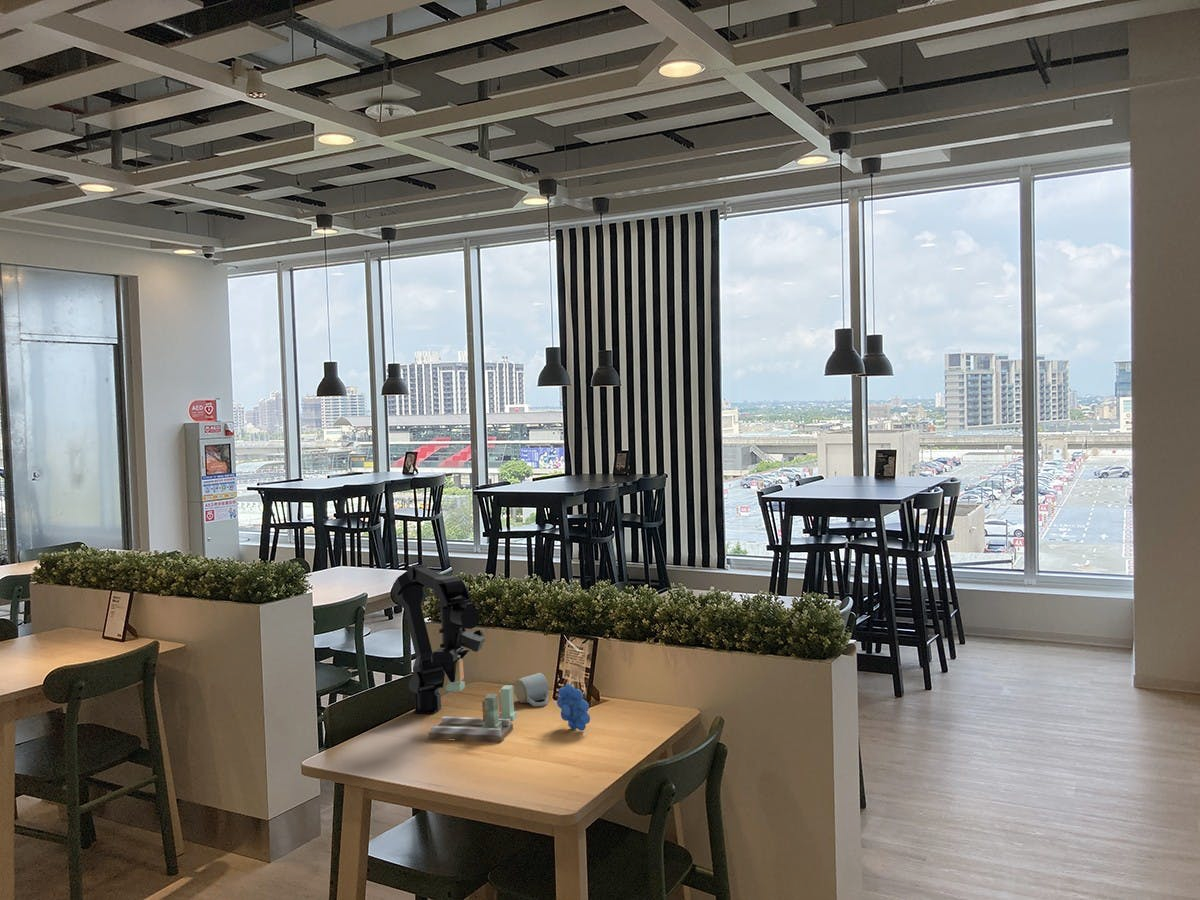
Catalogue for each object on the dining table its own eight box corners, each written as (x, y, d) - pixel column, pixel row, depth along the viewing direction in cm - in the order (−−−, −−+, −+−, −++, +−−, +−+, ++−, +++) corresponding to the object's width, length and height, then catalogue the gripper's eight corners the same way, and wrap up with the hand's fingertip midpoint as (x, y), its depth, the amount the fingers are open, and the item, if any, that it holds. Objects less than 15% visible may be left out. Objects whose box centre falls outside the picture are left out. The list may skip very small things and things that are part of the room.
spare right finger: (498, 721, 267) (497, 689, 267) (503, 716, 271) (502, 684, 271) (512, 721, 266) (511, 689, 266) (517, 717, 270) (515, 685, 270)
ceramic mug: (513, 700, 285) (512, 675, 285) (537, 695, 290) (536, 670, 289) (530, 710, 276) (530, 683, 276) (555, 704, 281) (554, 678, 281)
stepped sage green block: (446, 691, 264) (444, 658, 264) (451, 686, 268) (449, 654, 268) (460, 691, 263) (458, 658, 263) (465, 687, 267) (463, 654, 267)
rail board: (428, 739, 255) (426, 699, 254) (443, 726, 264) (441, 688, 264) (501, 742, 250) (499, 702, 250) (513, 729, 260) (511, 690, 259)
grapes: (547, 729, 259) (545, 685, 258) (565, 722, 264) (563, 679, 263) (578, 738, 251) (576, 692, 250) (596, 731, 256) (594, 686, 255)
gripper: (468, 631, 254) (472, 690, 255) (490, 616, 272) (493, 671, 273) (428, 631, 256) (432, 689, 257) (452, 616, 275) (455, 670, 275)
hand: (455, 680), depth 265 cm, fingers closed on stepped sage green block, 4 cm apart
